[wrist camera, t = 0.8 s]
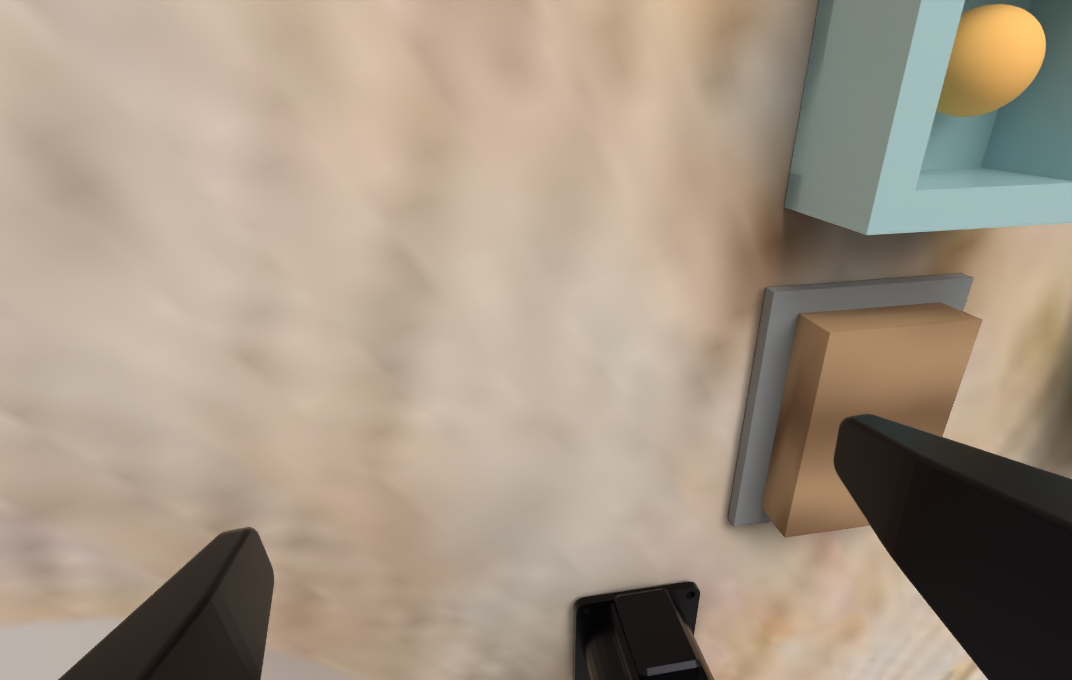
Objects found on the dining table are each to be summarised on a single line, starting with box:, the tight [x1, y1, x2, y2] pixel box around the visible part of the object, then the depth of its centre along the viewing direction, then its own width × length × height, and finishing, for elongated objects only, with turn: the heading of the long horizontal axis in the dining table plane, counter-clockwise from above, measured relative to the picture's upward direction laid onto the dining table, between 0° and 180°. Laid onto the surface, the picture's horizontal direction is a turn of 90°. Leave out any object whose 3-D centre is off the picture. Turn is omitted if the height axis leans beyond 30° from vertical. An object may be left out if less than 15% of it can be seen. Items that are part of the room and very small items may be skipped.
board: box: [761, 302, 982, 537], centre depth 24 cm, size 10×6×2 cm, turn 1°
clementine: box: [936, 4, 1046, 117], centre depth 18 cm, size 3×3×3 cm
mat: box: [728, 273, 973, 527], centre depth 25 cm, size 12×9×1 cm
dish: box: [784, 0, 1072, 235], centre depth 18 cm, size 10×9×4 cm
